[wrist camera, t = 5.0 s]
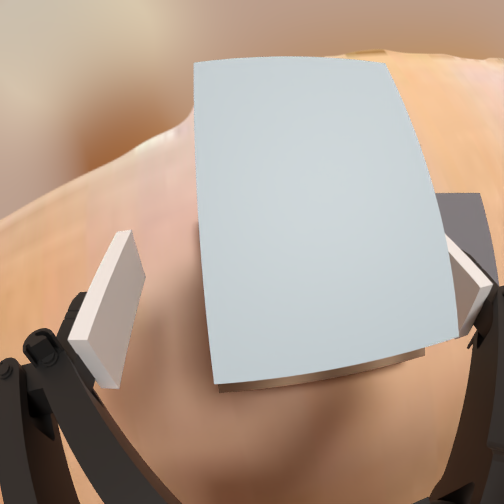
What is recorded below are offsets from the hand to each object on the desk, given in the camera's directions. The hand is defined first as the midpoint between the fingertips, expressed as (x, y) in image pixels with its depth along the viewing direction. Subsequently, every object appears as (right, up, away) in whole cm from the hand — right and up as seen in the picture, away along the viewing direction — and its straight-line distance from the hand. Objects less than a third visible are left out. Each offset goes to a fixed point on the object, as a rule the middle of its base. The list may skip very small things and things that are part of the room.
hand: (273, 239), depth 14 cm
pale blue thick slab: (0, -3, +9) cm, 9 cm away
